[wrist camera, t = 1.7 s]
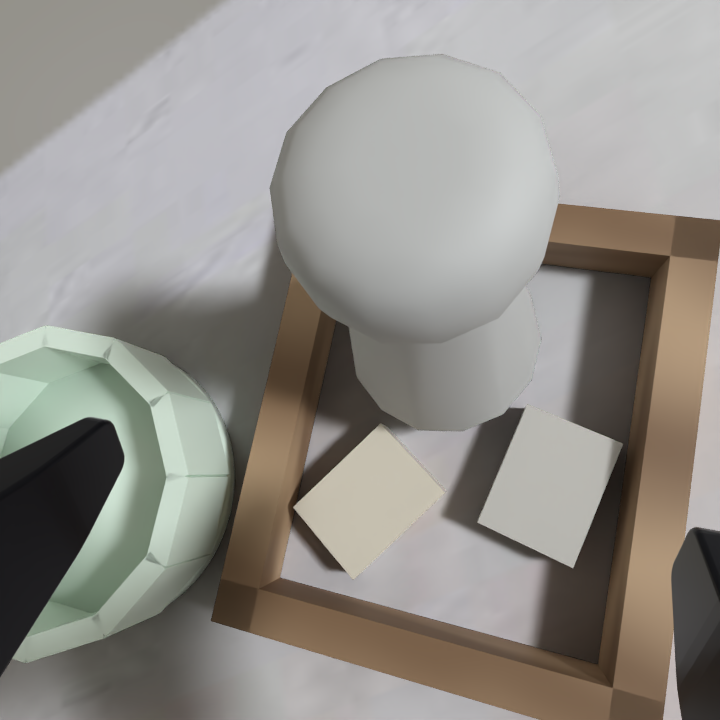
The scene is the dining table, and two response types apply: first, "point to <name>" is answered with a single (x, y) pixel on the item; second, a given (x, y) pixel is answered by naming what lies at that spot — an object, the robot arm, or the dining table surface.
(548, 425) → the off-white rectangular block
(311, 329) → the tray
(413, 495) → the beige rectangular block
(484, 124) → the salt shaker
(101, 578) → the bowl
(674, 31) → the dining table surface
